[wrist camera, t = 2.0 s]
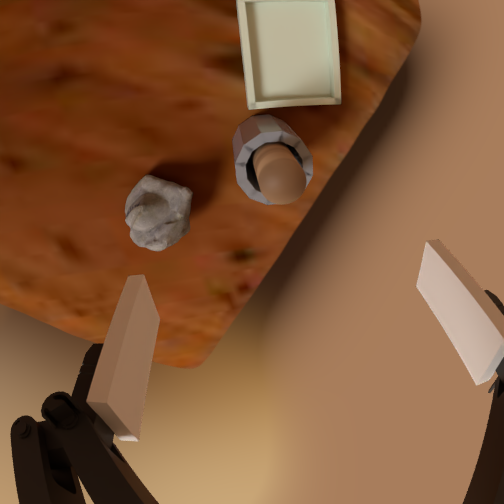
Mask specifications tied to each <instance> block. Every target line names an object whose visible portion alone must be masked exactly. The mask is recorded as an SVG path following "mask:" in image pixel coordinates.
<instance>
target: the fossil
mask: <svg viewBox="0 0 504 504" xmlns="http://www.w3.org/2000/svg"><path fill="white" fill-rule="evenodd" d="M192 195H193V192H191V190H190V189H189V188H188V187H186V186H185V187H183V186H180V185H179V184H177V183H175V182H169V181H166V180H163V179H160V178H157V177H155V176H152V175H145V176H144V177H143V178H142V179H141V180H140V181H139V182H138V183H137V185H136V186H135V187H134V189H133V190H132V192H131V193H130V195H129V196H128V198H127V201H126V205H125V213H126V219H125V221H126V223H127V225H128V226H130V228H131V231H130V236H131V238H132V240H133V242H134V243H135V244H137V245H138V246H140V247H147V248H148V249H150V250H154V251H161V250H164V249H166V248H167V247H168V246H172V245H173V244H175V243H177V242H178V241H179V239H180V238H181V237H182V236H184V235H186V234H187V233H188V232H189V230H190V223H189V215H190V210H191V199H192Z"/></svg>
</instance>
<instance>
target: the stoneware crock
mask: <svg viewBox="0 0 504 504" xmlns="http://www.w3.org/2000/svg"><path fill="white" fill-rule="evenodd" d="M277 141H281V142H284V143H285V144H286V146H287V147H288V149H289V150H290V151H291V153H292V154H293V156H294V157H295V159H296V160H297V162H298V163H299V164H300V166H301V167H302V169H303V170H304V172H305V175H306V179H307V183H306V187H307V185H308V183H309V181H310V179H311V177H312V176H313V162H312V155H311V153H310V152H309V150H308V149H307V147H306V146H305V144H304V143H303V141H302V139H301V138H300V137H299V136H298V135H297V134H296V133H295V132H294V131H293V130H292V129H291V128H290V127H289V126H288V125H287V124H286V123H285V121H283V120H281V119H279V118H276V117H274V116H272V115H270V114H265V115H255V116H251V117H250V118H248V119H247V120H246V121H244V122H243V123H241V124H240V125H239V126H238V128H237V130H236V133H235V135H234V137H233V139H232V143H233V152H234V161H235V168H236V177H237V183H238V185H239V186H240V187H241V188H242V189H243V191H244V192H245V193H246V194H247V196H248V197H249V198H251V199H254V200H256V201H259V202H261V203H264V204H266V205H271V204H275V203H272V202H270V201H269V200H267V199H266V198H265V197H264V196H263V194H262V192H261V190H260V187H259V183H258V179H257V176H256V172H255V169H254V165H253V162H252V158H251V153H252V151H253V150H255V149H256V148H258V147H259V146H261V145H262V144H264V143H266V142H277Z"/></svg>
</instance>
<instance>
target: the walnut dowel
mask: <svg viewBox="0 0 504 504" xmlns="http://www.w3.org/2000/svg"><path fill="white" fill-rule="evenodd" d="M251 158H252V162H253V165H254V169H255V172H256V176H257V179H258V183H259V187H260V190H261V192H262V194H263V196H264V197H265V198H266V199H267V200H269V201H270V202H272V203H275V204H288V203H291V202H294V201H295V200H297V199H298V198H299V197H300V196H301V195H302V194H303V192H304V190H305V188H306V183H307V179H306V175H305V172H304V170H303V169H302V167H301V166H300V164H299V163H298V162H297V160H296V159H295V157H294V156H293V154H292V153H291V151H290V150H289V149H288V147H287V146H286V144H285V143H284V142H281V141H277V142H266V143H264V144H262V145H261V146H259V147H258V148H256V149H255V150H253V151H252V153H251Z"/></svg>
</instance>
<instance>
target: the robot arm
mask: <svg viewBox="0 0 504 504" xmlns="http://www.w3.org/2000/svg"><path fill="white" fill-rule="evenodd" d="M416 287H417V288H418V290H419V291H420V293H421V294H422V296H423V297H424V299H425V300H426V302H427V303H428V305H429V307H430V308H431V310H432V311H433V313H434V314H435V316H436V317H437V319H438V320H439V322H440V324H441V325H442V327H443V329H444V330H445V332H446V333H447V335H448V337H449V338H450V340H451V342H452V343H453V345H454V347H455V348H456V350H457V352H458V353H459V355H460V357H461V359H462V360H463V362H464V364H465V366H466V367H467V369H468V371H469V373H470V375H471V376H472V378H473V380H474V382H475V383H476V385H479V384H481V383H483V382H485V381H488V380H490V378H491V377H492V375H493V374H494V372H495V371H496V372H497V374H498V377H497V379H496V380H495V382H494V383H493V385H492V386H491V388H490V389H489V392H488V393H490V392H491V391H492V390H493V389H494V393H493V400H492V405H491V410H490V415H489V420H488V424H487V428H486V432H485V436H484V440H483V444H482V448H481V451H480V455H479V458H478V461H477V464H476V468H475V471H474V474H473V477H472V480H471V483H470V486H469V488H468V491H467V494H466V497H465V499H464V502H463V504H504V306H503V304H502V302H501V301H500V300H499V299H498V297H497V296H495V295H494V294H493V293H491V292H490V291H488V290H485V291H484V290H483V289H482V288H481V287H480V285H479V284H478V283H477V282H476V281H475V279H474V278H473V277H472V276H471V275H470V274H469V272H468V271H467V270H466V269H465V268H464V267H463V265H462V264H461V263H460V262H459V261H458V260H457V259H456V258H455V257H454V256H453V254H452V253H451V252H450V251H449V250H448V249H447V248H446V247H445V246H444V245H443V244H442V242H441V241H440V240H439V239H437V240H430V241H426V244H425V250H424V254H423V259H422V264H421V268H420V272H419V276H418V281H417V285H416ZM159 322H160V318H159V315H158V313H157V310H156V307H155V304H154V302H153V299H152V296H151V293H150V291H149V288H148V285H147V282H146V279H145V276H144V274H143V275H134V276H128V278H127V281H126V284H125V286H124V289H123V291H122V294H121V297H120V299H119V302H118V305H117V307H116V310H115V313H114V316H113V319H112V321H111V324H110V327H109V330H108V333H107V336H106V339H105V342H104V344H93V345H92V346H91V347H90V349H89V350H88V351H87V352H86V354H85V357H84V360H83V363H82V366H81V369H80V372H79V373H80V374H79V375H78V378H77V381H76V384H75V387H74V390H73V393H72V396H70V395H69V394H68V393H65V392H55V393H53V394H51V395H50V396H49V397H47V398H46V400H45V401H44V403H43V405H42V409H41V413H42V417H43V418H44V419H45V420H46V421H42V422H36V421H35V420H34V419H33V418H32V417H30V416H22V417H20V418H18V419H17V420H16V421H15V422H14V423H13V425H12V427H11V447H12V457H13V466H14V474H15V481H16V487H17V493H18V499H19V504H86V503H85V499H84V496H83V493H82V489H81V486H80V482H79V479H78V477H79V478H80V480H81V482H82V484H83V485H84V487H85V489H86V491H87V492H88V494H89V496H90V497H91V499H92V501H93V502H94V504H159V503H158V502H157V501H156V500H155V498H154V497H153V496H152V495H151V493H150V492H149V491H148V490H147V488H146V487H145V486H144V484H143V483H142V482H141V481H140V479H139V478H138V476H136V474H135V472H134V471H133V470H132V468H131V467H130V466H129V464H128V463H127V461H126V460H125V459H124V457H123V456H122V454H121V453H120V451H119V450H118V448H117V447H116V445H115V444H114V443H113V437H114V434H115V435H116V436H117V437H118V438H119V439H120V440H127V441H139V437H140V429H141V423H142V416H143V409H144V403H145V397H146V391H147V385H148V379H149V374H150V368H151V363H152V357H153V352H154V347H155V342H156V337H157V332H158V327H159Z"/></svg>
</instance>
